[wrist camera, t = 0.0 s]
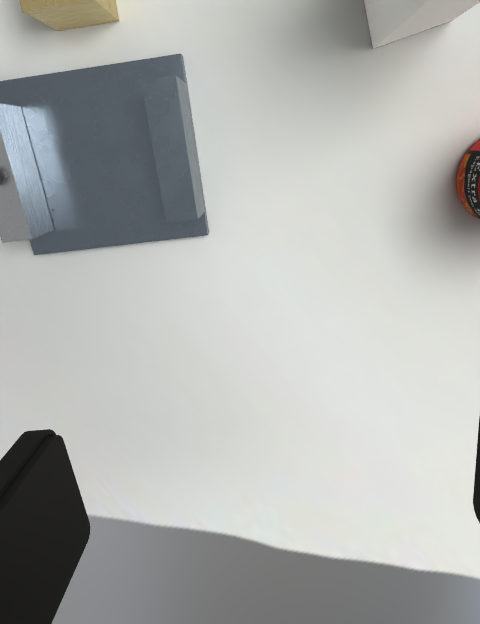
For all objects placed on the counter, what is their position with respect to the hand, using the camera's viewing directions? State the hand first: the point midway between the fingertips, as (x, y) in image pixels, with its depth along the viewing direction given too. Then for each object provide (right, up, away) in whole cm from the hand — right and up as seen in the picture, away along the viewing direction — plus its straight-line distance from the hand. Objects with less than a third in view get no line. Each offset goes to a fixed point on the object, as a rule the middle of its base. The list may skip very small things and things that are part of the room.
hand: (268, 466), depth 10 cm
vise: (-12, +16, +28) cm, 35 cm away
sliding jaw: (-19, +15, +27) cm, 37 cm away
